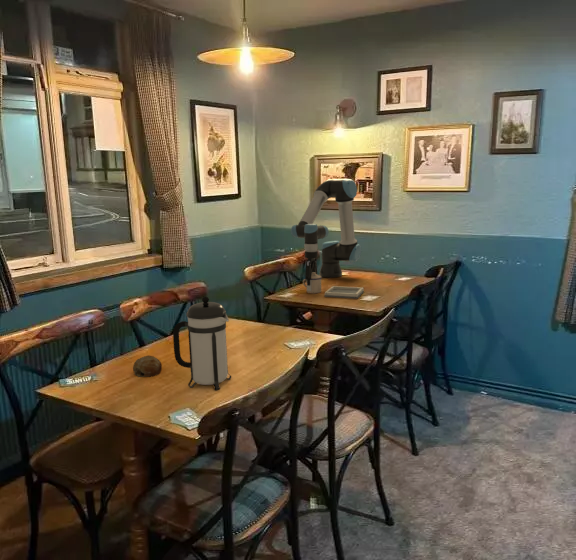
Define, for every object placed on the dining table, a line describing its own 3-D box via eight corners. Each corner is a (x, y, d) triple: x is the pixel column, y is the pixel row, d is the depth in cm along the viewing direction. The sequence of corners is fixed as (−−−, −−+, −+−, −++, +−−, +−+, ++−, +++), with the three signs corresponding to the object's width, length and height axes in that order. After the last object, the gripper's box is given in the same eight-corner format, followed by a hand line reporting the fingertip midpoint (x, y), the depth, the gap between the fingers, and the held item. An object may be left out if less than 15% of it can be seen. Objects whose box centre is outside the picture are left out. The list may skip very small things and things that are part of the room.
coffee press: (224, 371, 189) (220, 288, 183) (238, 386, 174) (234, 298, 168) (175, 379, 182) (169, 294, 176) (186, 396, 168) (179, 304, 162)
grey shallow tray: (332, 290, 313) (332, 286, 312) (364, 291, 306) (364, 287, 306) (324, 296, 297) (324, 292, 296) (357, 298, 290) (357, 294, 290)
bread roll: (131, 384, 188) (125, 368, 183) (142, 363, 196) (136, 348, 191) (158, 386, 186) (152, 370, 181) (167, 364, 194) (162, 349, 189)
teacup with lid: (324, 291, 310) (324, 271, 308) (316, 294, 303) (316, 274, 301) (307, 289, 317) (307, 270, 315) (299, 292, 310) (298, 272, 307)
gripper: (310, 248, 316) (311, 285, 321) (299, 253, 296) (299, 292, 301) (322, 248, 314) (322, 285, 318) (311, 253, 294) (312, 293, 298)
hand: (311, 289), depth 309 cm, fingers closed on teacup with lid, 9 cm apart
